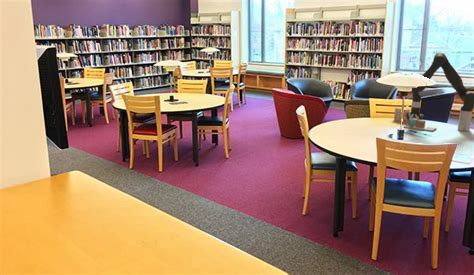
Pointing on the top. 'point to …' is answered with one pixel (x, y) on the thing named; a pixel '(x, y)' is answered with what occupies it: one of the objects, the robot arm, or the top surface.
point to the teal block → (413, 121)
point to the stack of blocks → (398, 115)
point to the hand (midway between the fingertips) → (413, 124)
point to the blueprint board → (419, 128)
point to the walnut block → (420, 123)
